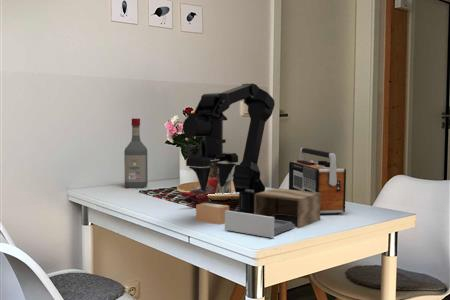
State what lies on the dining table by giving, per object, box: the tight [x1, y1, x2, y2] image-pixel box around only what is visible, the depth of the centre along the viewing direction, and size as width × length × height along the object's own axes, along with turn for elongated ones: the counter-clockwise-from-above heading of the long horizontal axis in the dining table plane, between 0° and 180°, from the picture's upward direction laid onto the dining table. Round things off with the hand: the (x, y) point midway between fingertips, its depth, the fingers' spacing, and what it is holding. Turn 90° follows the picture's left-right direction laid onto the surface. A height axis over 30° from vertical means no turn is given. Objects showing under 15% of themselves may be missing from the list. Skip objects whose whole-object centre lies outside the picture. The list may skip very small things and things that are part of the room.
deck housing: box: [254, 187, 321, 229], centre depth 148 cm, size 14×15×8 cm
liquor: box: [123, 118, 149, 189], centre depth 213 cm, size 9×9×30 cm
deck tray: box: [224, 210, 295, 239], centre depth 136 cm, size 14×15×5 cm
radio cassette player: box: [288, 147, 347, 215], centre depth 169 cm, size 29×10×20 cm, turn 11°
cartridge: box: [195, 202, 230, 225], centre depth 146 cm, size 9×4×5 cm, turn 55°
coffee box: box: [207, 162, 232, 194], centre depth 183 cm, size 9×6×16 cm
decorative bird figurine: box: [177, 177, 219, 204], centre depth 168 cm, size 3×18×10 cm, turn 129°
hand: (213, 188), depth 146 cm, fingers open, 9 cm apart
